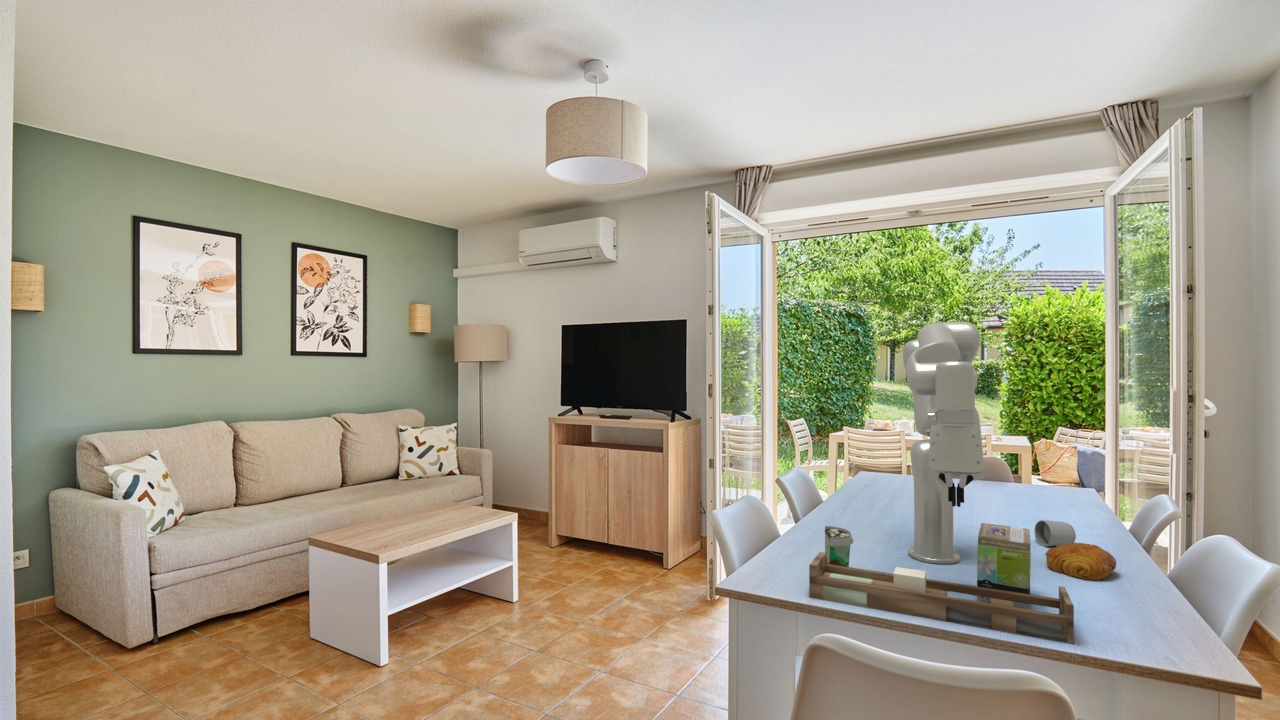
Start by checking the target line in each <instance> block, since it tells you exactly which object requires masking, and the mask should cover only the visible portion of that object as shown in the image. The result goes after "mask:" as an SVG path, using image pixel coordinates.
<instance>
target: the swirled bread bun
mask: <svg viewBox="0 0 1280 720" xmlns="http://www.w3.org/2000/svg"><path fill="white" fill-rule="evenodd" d="M1045 556H1046V557H1045V559H1046V565H1047V566H1048V568H1050V569H1051V570H1052V571H1054V572H1057V574H1061V575H1067V576H1069V577H1074V578H1077V579H1082V580H1086V581H1099V580H1102V579H1105V578H1106V577H1108V576H1109V575H1110V574H1112V572H1114V571H1115V570H1116V568H1117V560H1116V558H1115V557H1114V556H1113V555H1112V554H1111V552H1108V550H1107V551H1106V550H1105V549H1103V548H1101V547H1100V546H1098V545H1096V544H1090V543H1084V542H1074V543H1070V544H1062V545H1059V546H1056V547H1051V548H1048V550H1047V551H1046V552H1045Z"/></svg>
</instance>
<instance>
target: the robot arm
mask: <svg viewBox="0 0 1280 720" xmlns="http://www.w3.org/2000/svg"><path fill="white" fill-rule="evenodd" d="M980 345H981V336H980V331H979V330H978V328H977V326H976V325H974V324H973V323H971V322H968V321H950V322H949V321H942V322H941V321H939V322H931V323H927V324H924V326H922V327H921V328H920V330H919V331H918V332H917V338H916V339H912V340H909V341H908V342H906V343H905V344H904V345H903V349H902V362H903V366H904V369H905V375H906V381H907V386H908V388H909V390H910V392H911V393H912V396H913V414H914V415H913V416H914V426H915V429H916V432H917V433H918V434H920V435H922V436H926V437H929V439H921V440H917V441H915V442H914V443H913V444H912V445H911V446H910V453H909V454H910V455H909V456H910V462H911V468H912V475H913V477H912V478H913V505H914V506H913V507H914V508H913V515H914V516H913V518H914V519H913V522H914V523H913V525H914V526H913V529H914V531H913V532H914V533H913V535H914V537H913V538H914V541H913V542H914V543H913V545H914V546H913V547H909V548H908V550H907V554H908V556H909V557H911V558H913V559H915V560H918V561H921V562H924V563H925V562H926V563H932V564H936V565H937V564H938V565H940V564H941V565H947V564H948V565H953V564H956V563H959V562H960V561H961V556H960V554H959V553H958V552H956V551H954V508H955V507H958V508H961V503H963V504H965V488H966V487H967V486H968V485H969V484H971V482H974V481H979V480H980V481H981V480H984V479H985V478H986V477H985V473H984V465H985V463H984V461H985V460H984V449H983V440H982V439H983V438H982V429H981V420H980V415H979V412H978V410H977V408H976V395H975V394H976V393H975V392H976V391H975V390H976V389H977V387H978V380H979V377H978V372H977V371H976V370H975V366H974V365H973V361H974V359H975V357H976V355H977V354H978V351H979V350H980ZM953 477H958V478H959V482H958V483H957V484H956V485H957V486H956V485H955V482H954V479H953Z"/></svg>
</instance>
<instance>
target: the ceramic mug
mask: <svg viewBox="0 0 1280 720" xmlns="http://www.w3.org/2000/svg"><path fill="white" fill-rule="evenodd" d="M1033 532H1034V537H1035V540H1036V542H1037V543H1038V544H1039V545H1040V546H1042V547H1045V546H1046V547H1051V546H1052V547H1051V548H1053V546H1059V545H1062V544H1070V543H1076V542H1075V541H1076V538H1077V537H1076V536H1077V535H1076V531H1075V529H1074V527H1073V526H1072V525H1071V524H1070V523H1067V522H1065V521H1058V520H1057V521H1056V520H1048V519H1040V520H1038V521H1037V522H1036V523H1035V526H1034V531H1033Z"/></svg>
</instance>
